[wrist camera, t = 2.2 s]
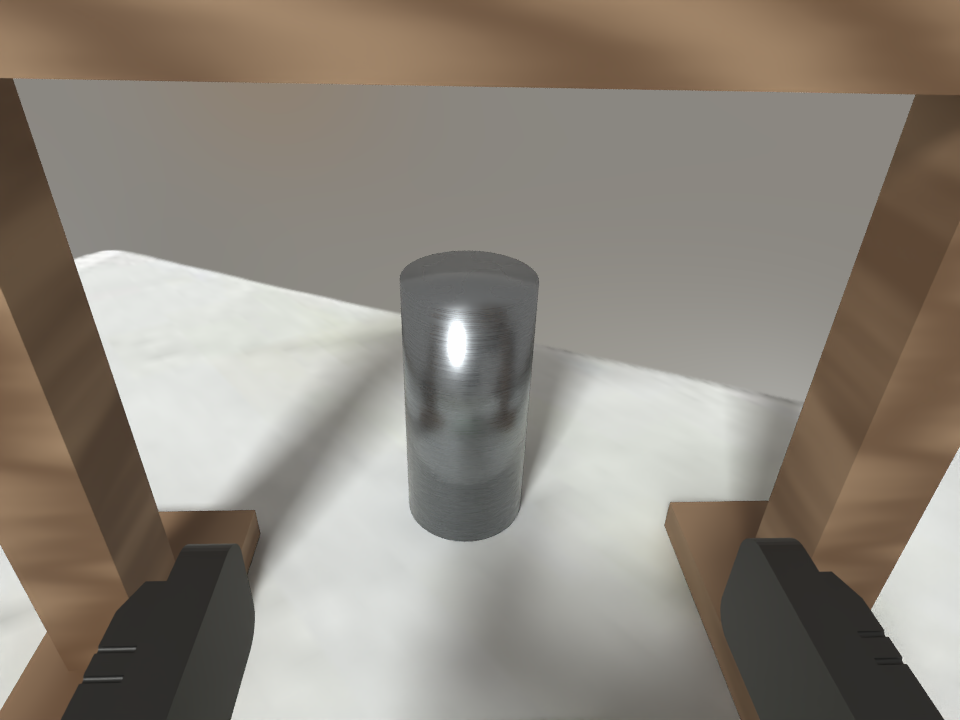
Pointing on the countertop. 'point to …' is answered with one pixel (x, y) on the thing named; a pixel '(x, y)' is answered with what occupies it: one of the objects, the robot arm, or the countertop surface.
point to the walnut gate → (485, 63)
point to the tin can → (467, 388)
